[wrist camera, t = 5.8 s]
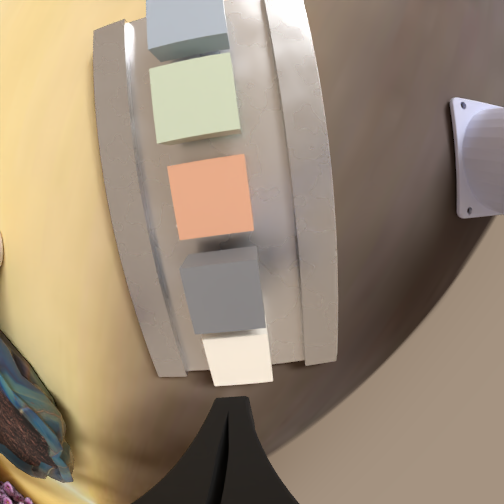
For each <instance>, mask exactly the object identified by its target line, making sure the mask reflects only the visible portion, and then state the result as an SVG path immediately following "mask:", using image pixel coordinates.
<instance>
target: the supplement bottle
mask: <svg viewBox="0 0 504 504" xmlns="http://www.w3.org/2000/svg"><path fill="white" fill-rule="evenodd" d="M2 260H3V242H2V237H1V233H0V266H1V264H2Z"/></svg>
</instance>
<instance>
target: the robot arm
mask: <svg viewBox="0 0 504 504" xmlns="http://www.w3.org/2000/svg"><path fill="white" fill-rule="evenodd" d="M461 104H462V106H463V109H462V107H461ZM450 109H451V116H452V124H453V133H454V143H455V156H456V177H457V215H458V216H459V217H460V218H464V219H465V218H474V217H484V216H494V215H502V214H503V215H504V108H503V107H499V106H495V105H491V104H487V103H482V102H478V101H473V100H468V99H462V98H457V97H456V98H452V99H451V100H450ZM468 208H469V212H468V213H467V209H468ZM131 504H299V503H298V502H297V501H296V499H295V498H294V497H293V496H292V494H291V493H290V492H289V491H288V489H287V488H286V486H285V485H284V484H283V482H282V481H281V479H280V478H279V477H278V475H277V473H276V472H275V470H274V468H273V467H272V465H271V463H270V462H269V460H268V458H267V456H266V454H265V452H264V450H263V448H262V446H261V444H260V441H259V439H258V437H257V434H256V431H255V426H254V420H253V415H252V411H251V406H250V401H249V398H248V397H246V396H241V397H226V398H216V399H215V401H214V403H213V405H212V408H211V410H210V412H209V414H208V416H207V418H206V420H205V422H204V424H203V425H202V427H201V429H200V431H199V432H198V434H197V436H196V437H195V439H194V440H193V442H192V443H191V445H190V446H189V448H188V449H187V451H186V452H185V454H184V455H183V456H182V457H181V459H180V460H179V461H178V462H177V464H176V465H175V466H174V467H173V468H172V469H171V470H170V471H169V472H168V474H167V475H166V476H165V477H164V478H163V479H162V480H161V481H160V482H158V483H157V484H156V485H155V486H154V487H153V488H151V489H150V490H149V491H148V492H147V493H145V494H144V495H143V496H142V497H140V498H139V499H137V500H136V501H134V502H133V503H131Z"/></svg>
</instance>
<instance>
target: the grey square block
mask: <svg viewBox="0 0 504 504" xmlns="http://www.w3.org/2000/svg"><path fill="white" fill-rule="evenodd" d="M146 20H147V43H148V50H149V51H150V52H151V53H152V54H153V55H154V56H155V57H156V58H157V59H158V60H159V61H160V62H164V61H168V60H173V59H177V58H181V57H186V56H191V55H196V54H201V53H207V52H213V51H219V50H225V49H230V44H229V37H228V30H227V23H226V15H225V8H224V1H223V0H146Z"/></svg>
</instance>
